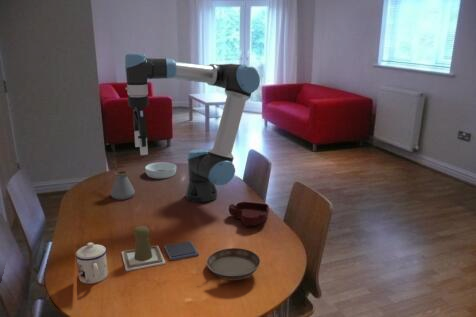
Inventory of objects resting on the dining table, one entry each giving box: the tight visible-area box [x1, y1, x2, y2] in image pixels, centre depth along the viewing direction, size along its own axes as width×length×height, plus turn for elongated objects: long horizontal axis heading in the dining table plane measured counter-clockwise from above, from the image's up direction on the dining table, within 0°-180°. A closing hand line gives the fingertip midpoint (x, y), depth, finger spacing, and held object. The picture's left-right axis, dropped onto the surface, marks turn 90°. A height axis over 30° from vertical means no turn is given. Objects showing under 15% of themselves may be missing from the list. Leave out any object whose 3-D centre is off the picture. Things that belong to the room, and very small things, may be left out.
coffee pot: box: [109, 160, 136, 201], centre depth 201 cm, size 21×12×15 cm, turn 29°
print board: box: [121, 245, 166, 272], centre depth 142 cm, size 13×13×1 cm
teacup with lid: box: [75, 241, 109, 285], centre depth 128 cm, size 12×9×12 cm
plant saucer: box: [206, 247, 261, 281], centre depth 136 cm, size 18×18×3 cm
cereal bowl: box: [144, 161, 177, 180], centre depth 228 cm, size 17×17×7 cm
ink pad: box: [164, 240, 199, 261], centre depth 147 cm, size 10×10×1 cm
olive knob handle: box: [133, 225, 152, 261], centre depth 141 cm, size 6×6×11 cm
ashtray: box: [228, 201, 270, 228], centre depth 175 cm, size 18×16×5 cm
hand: (141, 150), depth 160 cm, fingers open, 13 cm apart
